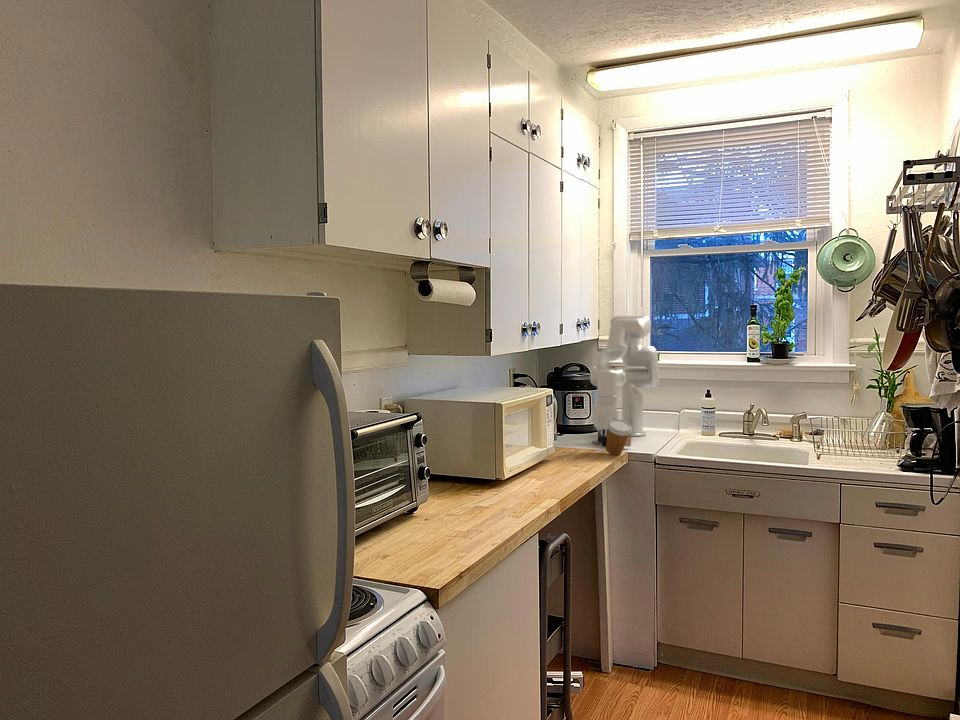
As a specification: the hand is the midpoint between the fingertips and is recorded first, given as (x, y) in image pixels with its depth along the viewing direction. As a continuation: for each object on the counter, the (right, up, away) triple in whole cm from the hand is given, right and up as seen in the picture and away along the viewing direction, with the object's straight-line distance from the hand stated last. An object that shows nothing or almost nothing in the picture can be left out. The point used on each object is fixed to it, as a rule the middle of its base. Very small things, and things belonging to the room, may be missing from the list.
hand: (606, 446), depth 295 cm
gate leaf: (+6, -1, +14) cm, 16 cm away
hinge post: (+1, -1, +23) cm, 23 cm away
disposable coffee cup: (+2, -1, -3) cm, 4 cm away
